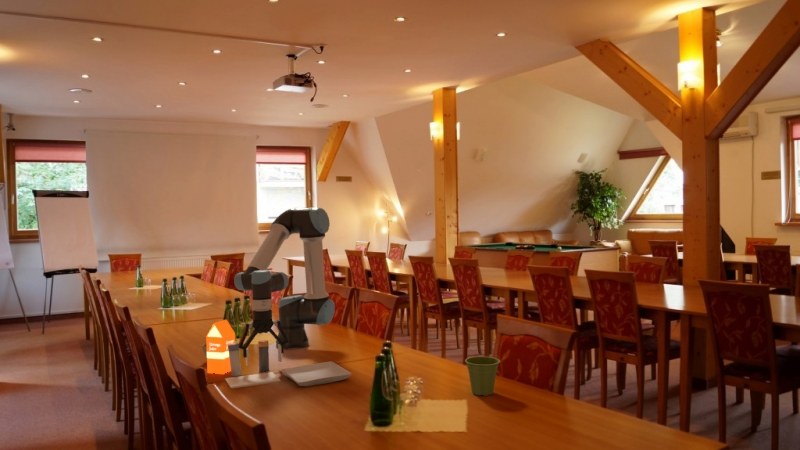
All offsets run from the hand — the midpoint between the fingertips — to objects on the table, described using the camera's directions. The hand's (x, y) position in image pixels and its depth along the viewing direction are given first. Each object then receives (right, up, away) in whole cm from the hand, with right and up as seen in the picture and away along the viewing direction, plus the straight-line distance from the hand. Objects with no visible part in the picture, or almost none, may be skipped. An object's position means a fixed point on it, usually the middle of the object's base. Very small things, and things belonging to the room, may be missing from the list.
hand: (263, 363), depth 249 cm
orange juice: (-17, -4, +2) cm, 18 cm away
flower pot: (-25, -3, +19) cm, 31 cm away
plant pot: (+82, -2, -36) cm, 90 cm away
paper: (-1, -4, -14) cm, 14 cm away
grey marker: (-9, -3, -5) cm, 11 cm away
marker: (0, -3, 0) cm, 3 cm away
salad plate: (+22, -4, -13) cm, 26 cm away
